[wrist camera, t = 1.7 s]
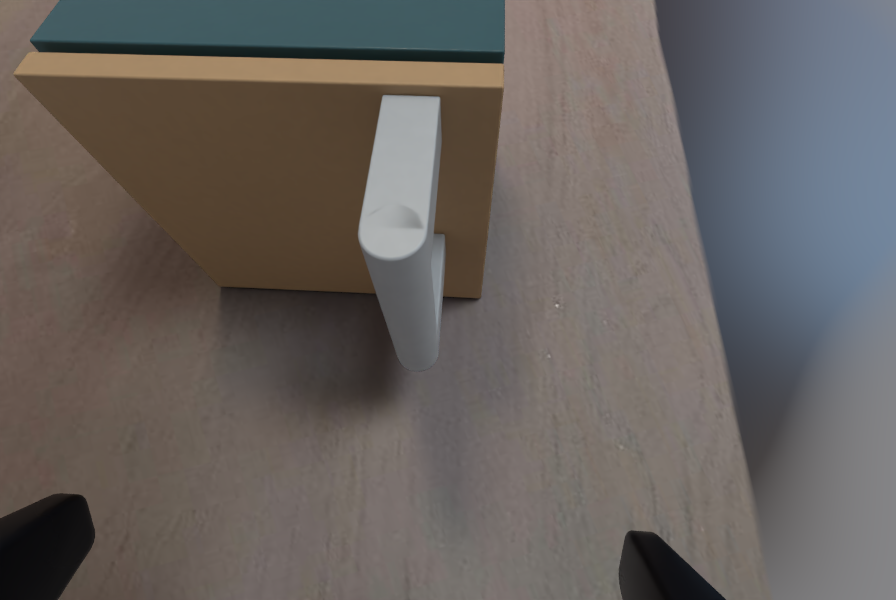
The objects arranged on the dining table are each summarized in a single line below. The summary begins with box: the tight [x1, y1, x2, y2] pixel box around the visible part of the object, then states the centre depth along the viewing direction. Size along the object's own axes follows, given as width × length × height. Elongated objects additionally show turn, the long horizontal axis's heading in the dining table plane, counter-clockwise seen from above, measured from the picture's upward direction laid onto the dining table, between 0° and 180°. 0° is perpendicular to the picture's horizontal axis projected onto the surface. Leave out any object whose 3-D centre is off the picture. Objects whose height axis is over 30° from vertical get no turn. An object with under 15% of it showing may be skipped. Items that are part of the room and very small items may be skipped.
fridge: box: [30, 0, 505, 64], centre depth 21 cm, size 10×14×13 cm
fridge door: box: [13, 52, 504, 372], centre depth 17 cm, size 6×14×12 cm, turn 87°
